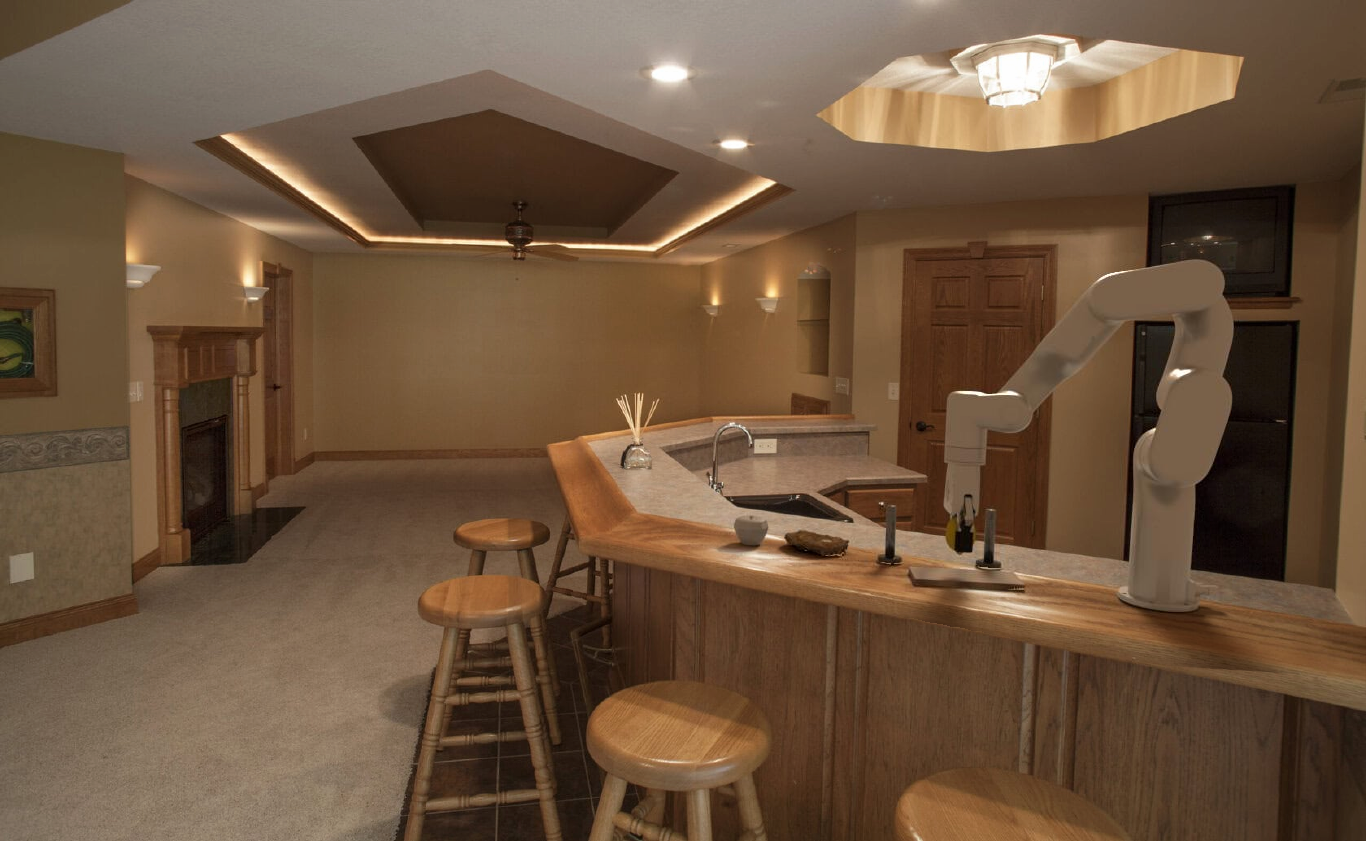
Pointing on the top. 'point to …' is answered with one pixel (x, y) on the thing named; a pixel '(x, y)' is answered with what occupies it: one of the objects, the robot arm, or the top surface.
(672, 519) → the top surface
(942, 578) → the walnut board
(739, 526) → the apple
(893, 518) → the post far side
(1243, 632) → the top surface
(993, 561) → the post arm side
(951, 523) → the lemon
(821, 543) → the decorative rock
